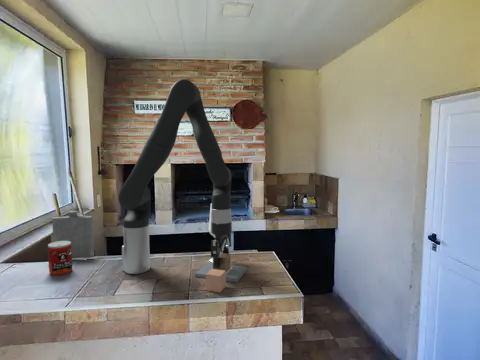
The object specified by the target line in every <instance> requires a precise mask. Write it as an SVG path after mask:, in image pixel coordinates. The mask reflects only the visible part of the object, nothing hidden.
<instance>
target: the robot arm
mask: <svg viewBox="0 0 480 360" xmlns="http://www.w3.org/2000/svg"><path fill="white" fill-rule="evenodd" d="M185 114H186V115H187V117H188V118H189V121H190V124H191V127H192V130H193V131H192V132H193V135H194V139H195V142H196V145H197V148H198V149H199V152H200V154H201V156H202V159H203V160H204V162H205V167H206V170H207V173H208V176H209V179H210V180H211V182H212V186H213V187H212V190H213V191H212V194H211V203H212V212H211V233H212V234H214V235H215V238H214V239H212V240H211V241H210V257H211V258H213V257H214V267H215V268H219V267H220V256H221V253H227V254H230V249H231V247H232V232H233V229H232V226H233V225H232V224H233V221H232V219H233V218H232V216H233V215H232V197H231V190H232V171H231V169H230V168H229V167H227V165H226V163H225V161H224V158H223V154H222V151H221V147H220V146H219V145H220V144H219V143H218V141H217V138H216V136H215V134H214V131H213V129H212V127H211V125H210V121H209V119H208V117H207V115H206V114H207V113H206V111H205V107H204V104H203V100H202V96H201V91H200V89H199V87H198V86H197V85H196V84H195V83H193V82H191V80H189V79H185V78H181V79H179V80H178V79H177V80H176V81H175V82H174V83H173V84H172V86H171V88H170V90H169V93H168V95H167V98H166V101H165V104H164V105H163V109H162V111H161V113H160V115H159V116H158V119H157V120H156V122H155V125H154V127H153V128H152V130H151V131H150V134H149V136H148V137H147V140H146V142H145V143H144V146H143V147H142V151H141V153H140V155H139V156H138V158H137V161H136V162H135V165H134V166H133V169H132V170H131V173H130V174H129V175H128V177H127V179H126V180H125V182H124V184H123V185H122V186H121V188H120V190H119V193H118V199H117V201H118V203H119V205H120V207H122V208H123V209H125V210H127V212H126V215H125V217H124V218H123V220H122V225H123V226H122V227H123V228H122V229H123V232H122V233H123V245H122V246H121V263H122V265H121V266H122V267H121V269H122V271H123V272H125V273H126V274H130V275H136V274H142V273H147V271H150V268H151V259H150V257H151V256H150V252H151V251H150V227H149V226H150V218H151V214H152V211H151V210H152V207H151V206H152V205H151V204H152V203H151V201H152V199H151V198H152V196H151V192H150V188H149V187H148V185H149V183H150V181H151V179H152V178H153V177H154V176H155V174H156V173H158V171H159V170H160V169H161V168H162V167H163V165H164V164H165V163H166V162H167V159H168V158H169V156H170V154H171V152H172V150H173V149H174V146H175V143H176V139H177V137H178V136H177V135H178V133H179V132H178V131H179V128H180V124H181V122H182V119H184V118H183V117H184V116H185Z"/></svg>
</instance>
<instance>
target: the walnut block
mask: <svg viewBox="0 0 480 360" xmlns="http://www.w3.org/2000/svg"><path fill="white" fill-rule="evenodd" d="M212 258H213V269H217V270H225V271H226V272H227V271H228V270H229V269H230V265H231V253H229V254H227V253H223V252H221V256H220V267H219V268H215V267H214V257H212Z"/></svg>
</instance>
